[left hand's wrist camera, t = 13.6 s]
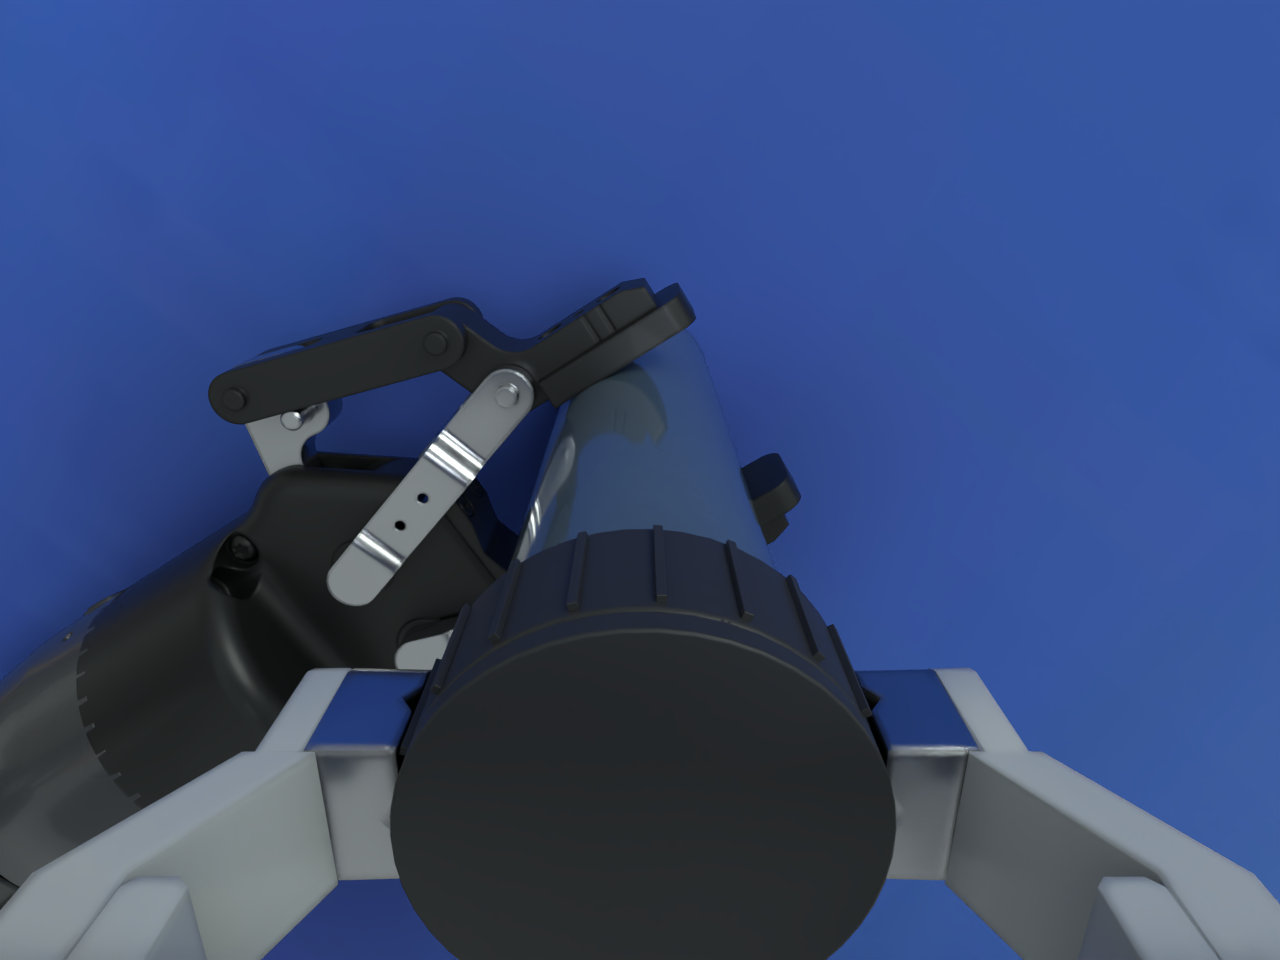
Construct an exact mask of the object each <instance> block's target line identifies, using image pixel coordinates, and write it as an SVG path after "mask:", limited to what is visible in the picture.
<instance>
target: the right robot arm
mask: <svg viewBox="0 0 1280 960" xmlns="http://www.w3.org/2000/svg"><path fill="white" fill-rule="evenodd" d="M695 319H696V316H695V313H694V310H693V308H692V306H691V304H690V303H689V301H688V299H687V298H686V296H685V294H684V293H683V291H682V289H681V288H680V286H679V284H678V283H674V284H672V285H670V286H668V287H666V288H664V289H662V290H661V291H659V292H657V293H656V294H654V293H653V291H652V289H651V288H650V286H649V284H648V283H647V281H646V279H645V278H641V279H636V280H630V281H625V282H621V283H620V284H618V285H616V286H615V287H613V288H612V289H610V290H609V291H607V292H605V293H604V294H603V295H601V296H599V297H598V298H596V299H595V300H593V301H591V302H590V303H588V304H587V305H585V306H584V307H582V308H580V309H579V310H577V311H576V312H574V313H573V314H571V315H569V316H568V317H566V318H565V319H563V320H562V321H560V322H559V323H557V324H555V325H554V326H552V327H551V328H549V329H548V330H546V331H544V332H543V333H541V334H540V335H538V336H536V337H533V338H530V339H515V338H512V337H509V336H507V335H505V334H504V333H502V332H501V331H499V330H498V329H497V328H495V327H494V326H493V325H491V324H490V323H489V322H487V321H486V320H485V319H483V316H482V313H481V311H480V310H479V308H478V307H477V306H476V305H475V304H474V303H473V302H471V301H469V300H467V299H464V298H460V297H455V298H450V299H446V300H443V301H439V302H436V303H432V304H429V305H425V306H422V307H418V308H415V309H411V310H407V311H404V312H400V313H397V314H393V315H390V316H386V317H383V318H379V319H376V320H372V321H369V322H365V323H362V324H358V325H354V326H351V327H347V328H344V329H340V330H337V331H333V332H330V333H326V334H323V335H319V336H316V337H312V338H308V339H305V340H301V341H298V342H294V343H291V344H287V345H284V346H280V347H277V348H273V349H270V350H267V351H265V352H263V353H261V354H259V355H257V356H255V357H253V358H251V359H249V360H247V361H245V362H243V363H241V364H239V365H237V366H235V367H233V368H232V369H230V370H228V371H226V372H224V373H222V374H220V375H219V376H217V377H216V378H215V379H213V381H212V382H211V384H210V386H209V390H208V397H209V401H210V404H211V406H212V408H213V410H214V411H215V412H216V413H217V414H218V415H219V416H220V417H221V418H222V419H224V420H226V421H228V422H230V423H233V424H245V425H246V427H247V429H248V431H249V434H250V436H251V438H252V440H253V442H254V444H255V446H256V448H257V451H258V453H259V455H260V457H261V459H262V461H263V463H264V465H265V468H266V470H267V472H268V474H269V477H268V478H267V479H266V480H265V481H264V482H263V483H262V485H261V486H260V488H259V490H258V492H257V495H256V497H255V500H254V502H253V505H252V506H251V508H250V509H249V511H247V512H246V513H244V514H243V515H241V516H240V517H238V518H237V519H235V520H233V521H232V522H230V523H229V524H227V525H226V526H224V527H222V528H221V529H219V530H218V531H216V532H215V533H213V534H212V535H210V536H208V537H207V538H205V539H204V540H202V541H201V542H199V543H197V544H196V545H194V546H193V547H191V548H190V549H188V550H187V551H185V552H183V553H182V554H180V555H179V556H177V557H176V558H174V559H172V560H171V561H169V562H168V563H166V564H165V565H163V566H162V567H160V568H158V569H157V570H155V571H154V572H152V573H151V574H149V575H147V576H146V577H144V578H143V579H141V580H140V581H138V582H136V583H135V584H133V585H132V586H130V587H129V588H127V589H126V590H123V591H120V592H118V593H115V594H113V595H111V596H109V597H107V598H105V599H103V600H101V601H99V602H98V603H96V604H94V605H93V606H91V607H90V608H89V609H88V611H87V612H86V613H85V614H84V615H83V617H82V618H80V619H79V620H77V621H76V622H74V623H73V624H71V625H70V626H68V627H66V628H65V629H63V630H62V631H60V632H59V633H57V634H56V635H54V636H53V637H51V638H50V639H49V640H47V641H46V642H44V643H43V644H42V645H41V646H39V647H38V648H37V649H36V650H35V651H34V652H32V653H31V654H30V655H29V656H28V657H27V658H26V659H24V660H23V661H22V662H21V663H20V664H19V665H18V666H17V667H16V668H14V669H13V670H12V671H11V672H10V673H9V674H8V675H7V676H6V677H4V678H3V679H2V680H0V910H1V909H2V908H3V907H4V905H5V904H6V903H7V902H8V901H9V900H10V898H11V897H12V896H13V895H14V894H15V892H16V891H17V890H18V889H19V888H20V887H21V885H22V884H23V883H24V882H25V881H26V880H27V878H28V877H29V876H30V875H31V874H32V873H33V872H35V871H36V870H38V869H40V868H42V867H43V866H45V865H47V864H48V863H50V862H52V861H54V860H55V859H57V858H59V857H61V856H62V855H64V854H66V853H67V852H69V851H71V850H73V849H74V848H76V847H78V846H80V845H81V844H83V843H85V842H87V841H88V840H90V839H92V838H93V837H95V836H97V835H99V834H100V833H102V832H104V831H106V830H107V829H109V828H111V827H113V826H114V825H116V824H118V823H119V822H121V821H123V820H125V819H126V818H128V817H130V816H132V815H133V814H135V813H137V812H139V811H140V810H142V809H144V808H145V807H147V806H149V805H151V804H152V803H154V802H156V801H158V800H159V799H161V798H163V797H164V796H166V795H168V794H170V793H171V792H173V791H175V790H177V789H178V788H180V787H182V786H184V785H185V784H187V783H189V782H190V781H192V780H194V779H196V778H197V777H199V776H201V775H203V774H204V773H206V772H208V771H210V770H211V769H213V768H215V767H216V766H218V765H220V764H222V763H223V762H225V761H227V760H229V759H230V758H232V757H234V756H235V755H237V754H239V753H241V752H255V750H256V749H257V747H258V746H259V744H260V742H261V741H262V739H263V738H264V736H265V735H266V733H267V732H268V730H269V729H270V727H271V726H272V724H273V723H274V721H275V720H276V718H277V716H278V715H279V713H280V712H281V710H282V709H283V707H284V706H285V704H286V703H287V701H288V700H289V698H290V697H291V695H292V694H293V692H294V690H295V689H296V687H297V686H298V684H299V683H300V681H301V680H302V678H303V677H304V675H305V674H306V673H307V672H308V671H310V670H312V669H315V668H351V669H355V668H370V669H418V670H432V668H433V665H434V663H435V660H436V658H438V659H442V657H443V654H444V652H445V649H446V647H447V644H448V642H449V639H450V637H451V634H452V631H453V629H454V626H455V624H456V621H457V619H458V616H459V614H460V611H461V609H462V607H463V606H464V605H465V603H467V604H469V605H470V606H472V605H473V603H474V602H475V601H476V600H477V598H478V597H479V596H480V595H481V594H482V593H483V592H484V591H485V590H486V589H487V588H488V587H489V586H491V585H492V584H493V583H494V582H495V581H496V580H497V579H498V578H500V577H501V576H502V575H504V574H505V573H506V572H507V570H508V567H509V564H510V561H511V558H512V555H513V552H514V548H515V545H516V542H517V539H518V536H517V535H516V534H515V533H514V532H513V531H511V530H510V529H509V528H508V527H506V526H505V525H504V524H503V523H501V522H500V521H499V520H498V519H497V517H496V514H495V512H494V509H493V507H492V504H491V502H490V499H489V497H488V494H487V492H486V491H485V489H484V488H483V487H482V485H481V484H480V483H479V481H478V480H477V479H476V475H477V474H478V473H479V471H480V470H481V468H482V467H483V466H484V464H485V463H486V462H487V461H488V459H489V458H490V457H491V456H492V455H493V454H494V452H495V451H496V450H497V449H498V448H499V447H500V445H501V444H502V443H503V442H504V441H505V439H506V438H507V437H508V436H509V435H510V434H511V432H512V431H513V430H514V429H515V428H516V427H517V425H518V424H519V423H520V422H521V421H522V419H523V418H524V417H525V416H526V415H527V414H528V412H530V411H531V410H533V409H535V408H536V407H538V406H539V405H541V404H543V403H544V402H546V401H548V400H550V402H551V403H552V405H553V406H554V408H555V409H556V408H557V407H559V406H561V405H562V404H564V403H566V402H567V401H569V400H570V399H572V398H574V397H575V396H577V395H579V394H580V393H581V392H583V391H584V390H586V389H587V388H589V387H590V386H592V385H594V384H596V383H598V382H600V381H601V380H603V379H605V378H606V377H608V376H610V375H611V374H613V373H614V372H616V371H618V370H619V369H621V368H623V367H624V366H626V365H627V364H629V363H631V362H632V361H634V360H636V359H637V358H639V357H641V356H642V355H644V354H645V353H647V352H649V351H650V350H652V349H654V348H655V347H657V346H658V345H660V344H662V343H663V342H665V341H667V340H668V339H670V338H671V337H673V336H675V335H676V334H678V333H680V332H681V331H683V330H684V329H685V328H687V327H688V326H689V325H690V324H692V323H693V322H694V320H695ZM437 371H442V372H443V373H445V374H446V375H447V376H449V377H450V378H452V379H453V380H454V381H456V382H457V383H459V384H460V385H461V386H463V387H464V388H466V389H467V390H468V391H470V392H471V393H470V395H469V396H468V397H467V398H466V400H465V401H464V402H463V403H462V404H461V405H460V406H459V408H458V409H457V410H456V411H455V412H454V414H453V415H452V416H451V417H450V419H449V420H448V421H447V422H446V424H445V425H444V426H443V427H442V428H441V430H440V431H439V432H438V433H437V435H436V436H435V437H434V438H433V439H432V441H431V442H430V443H429V444H428V446H427V447H426V448H425V449H424V450H423V452H422V453H421V454H420V455H419V457H418V458H407V457H393V456H378V455H363V454H348V453H333V452H317V451H316V447H315V438H316V435H317V433H319V432H321V431H322V430H323V429H325V428H326V427H327V426H328V425H329V424H330V423H332V422H333V421H334V420H335V419H336V418H337V417H338V416H339V414H340V412H341V410H342V397H346V396H350V395H353V394H357V393H361V392H364V391H368V390H371V389H375V388H379V387H382V386H386V385H390V384H393V383H397V382H401V381H404V380H408V379H412V378H415V377H419V376H423V375H426V374H430V373H434V372H437ZM741 469H742V472H743V475H744V478H745V481H746V484H747V487H748V490H749V493H750V496H751V499H752V502H753V505H754V508H755V511H756V514H757V517H758V520H759V523H760V526H761V529H762V532H763V535H764V538H765V541H766V544H767V545H768V544H769V543H771V542H773V541H775V540H776V539H777V537H778V536H779V535H780V534H781V533H782V532H783V531H784V530H785V528H786V527H787V526H788V525H789V523H788V521H787V518H786V516H785V513H787V512H788V511H790V510H791V509H792V508H794V507H795V506H796V505H797V504H798V502H799V501H800V499H801V495H800V493H799V490H798V488H797V486H796V484H795V482H794V480H793V478H792V476H791V474H790V472H789V471H788V469H787V467H786V466H785V464H784V462H783V461H782V459H781V457H780V455H779V454H777V453H771V454H768V455H765V456H763V457H761V458H759V459H757V460H755V461H753V462H752V463H750V464H748V465H746V466H745V467H743V468H741Z"/></svg>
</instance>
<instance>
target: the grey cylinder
mask: <svg viewBox="0 0 1280 960" xmlns="http://www.w3.org/2000/svg"><path fill="white" fill-rule="evenodd" d="M653 525H662V526H663V530H669V531H678V532H685V533H689V534H694V535H698V536H702V537H707V538H711V539H714V540H716V541H719V542H722V543H724V544H726V542H727V540H731V541H733V542H736V545H737V548H738V549H740V550H742V551H744V552H746V553H748V554H750V555H752V556H754V557H755V558H757V559H759V560H761V561H763V562H765V563H766V564H767V565H769V566H770V567H772V568H773V569H775V567H774V564H773V561H772V558H771V555H770V553H769V550H768V547H767V544H766V541H765V538H764V535H763V532H762V529H761V526H760V523H759V520H758V517H757V514H756V511H755V508H754V505H753V502H752V499H751V496H750V493H749V490H748V487H747V484H746V481H745V478H744V475H743V472H742V469H741V466H740V463H739V460H738V457H737V454H736V451H735V448H734V445H733V442H732V439H731V436H730V433H729V430H728V427H727V424H726V421H725V418H724V415H723V412H722V409H721V406H720V403H719V400H718V397H717V394H716V391H715V388H714V385H713V382H712V379H711V376H710V373H709V370H708V367H707V364H706V361H705V359H704V356H703V353H702V351H701V349H700V347H699V345H698V344H697V342H696V341H695V339H694V338H693V337H692V336H691V335H690V334H689V332H687V331H686V330H685V329H684V330H683V331H681V332H680V333H678V334H676V335H675V336H673V337H671V338H670V339H668V340H667V341H665V342H663V343H662V344H660V345H658V346H657V347H655V348H654V349H652V350H650V351H649V352H647V353H645V354H644V355H642V356H641V357H639V358H637V359H636V360H634V361H632V362H631V363H629V364H627V365H626V366H624V367H623V368H621V369H619V370H618V371H616V372H614V373H613V374H611V375H610V376H608V377H606V378H605V379H603V380H601V381H600V382H598V383H596V384H594V385H592V386H590V387H589V388H587V389H586V390H584V391H583V392H581V393H580V394H579V395H577V396H575V397H574V398H572V399H570V400H569V401H567V402H566V403H564V404H562V405H561V406H560V407H559V410H558V413H557V416H556V420H555V423H554V426H553V429H552V432H551V435H550V438H549V442H548V445H547V448H546V451H545V454H544V457H543V460H542V464H541V467H540V470H539V473H538V476H537V479H536V482H535V486H534V489H533V492H532V495H531V498H530V501H529V504H528V508H527V511H526V514H525V517H524V520H523V523H522V526H521V530H520V533H519V536H518V539H517V542H516V545H515V548H514V552H513V555H512V558H511V561H510V564H511V562H513V561H514V560H516V559H519V560H520V562H523V561H524V560H526V559H528V558H530V557H532V556H533V555H535V554H537V553H539V552H541V551H543V550H545V549H548V548H550V547H553V546H556V545H558V544H561V543H563V542H566V541H568V540H571V539H575V538H577V534H578V533H580V532H584V531H586V532H587V534H588V535H591V534H595V533H601V532H608V531H616V530H623V529H653ZM510 564H509V567H510ZM509 567H508V570H509ZM508 570H507V572H508Z"/></svg>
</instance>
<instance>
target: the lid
mask: <svg viewBox="0 0 1280 960" xmlns="http://www.w3.org/2000/svg"><path fill="white" fill-rule="evenodd" d="M870 716H872V712H871V710H870V708H869V705H868V703H867V700H866V698H865V696H864V693H863V691H862V689H861V686H860V684H859V681H858V679H857V677H856V674H855V672H854V670H853V667H852V665H851V663H850V660H849V658H848V655H847V653H846V651H845V648H844V646H843V644H842V641H841V639H840V636H839V634H838V632H837V630H836V628H835V626H834V624H832V625H830V626H828V627H827V625H826V624H825V622H824V620H823V619H822V617H821V615H820V614H819V612H818V611H817V610H816V609H815V607H814V606H813V605H812V604H811V603H810V601H809V600H808V599H807V598H806V596H805V595H804V594H803V593H802V592H801V591H800V588H799V585H798V583H797V580H796V579H795V578H794V577H793V576H792V575H789V576H788V577H787V578H786V577H785V576H783V575H782V574H780V573H779V572H777V571H776V570H775V569H773V568H772V567H770V566H769V565H767V564H766V563H765V562H763V561H761V560H759V559H757V558H755V557H754V556H752V555H750V554H748V553H746V552H744V551H742V550H740V549H738V548H737V545H736V542H733V541H731V540H727V542H726V544H724V543H722V542H719V541H716V540H714V539H711V538H707V537H702V536H698V535H694V534H689V533H685V532H678V531H669V530H663V526H662V525H653V529H623V530H616V531H608V532H601V533H595V534H591V535H588V534H587V532H586V531H584V532H580V533H578V534H577V538H575V539H571V540H568V541H566V542H563V543H561V544H558V545H556V546H553V547H550V548H548V549H545V550H543V551H541V552H539V553H537V554H535V555H533V556H532V557H530V558H528V559H526V560H524V561H523V562H520V560H519V559H516V560H514V561H513V562H511V564H510V567H509V570H508V572H506V573H505V574H504V575H502V576H501V577H500V578H498V579H497V580H496V581H495V582H494V583H493V584H492V585H491V586H489V587H488V588H487V589H486V590H485V591H484V592H483V593H482V594H481V595H480V596H479V597H478V598H477V600H476V601H475V602H474V603H473V605H472V606H470V605H469V604H467V603H465V605H464V606H463V607H462V609H461V611H460V614H459V616H458V619H457V621H456V624H455V626H454V629H453V631H452V634H451V637H450V639H449V642H448V644H447V647H446V649H445V652H444V654H443V657H442V659H438V658H436V660H435V663H434V665H433V668H432V670H431V673H430V675H429V678H428V680H427V683H426V685H425V688H424V690H423V692H422V695H421V697H420V700H419V702H418V705H417V707H416V710H415V712H414V715H413V717H412V720H411V722H410V725H409V727H408V730H407V732H406V735H405V737H404V739H403V742H402V744H401V747H400V751H399V754H400V755H404V756H405V757H404V760H403V763H402V766H401V768H400V771H399V774H398V776H397V779H396V782H395V786H394V792H393V797H392V803H391V808H390V838H391V844H392V851H393V857H394V863H395V866H396V869H397V872H398V875H399V878H400V881H401V884H402V887H403V889H404V891H405V893H406V895H407V897H408V899H409V900H410V902H411V904H412V906H413V908H414V910H415V911H416V913H417V914H418V916H419V917H420V918H421V920H422V921H423V923H424V924H425V925H426V927H427V928H428V930H429V931H430V932H431V933H432V934H433V935H434V936H435V937H436V939H437V940H438V941H439V942H440V943H441V944H442V945H443V946H444V947H445V948H446V949H447V950H448V951H449V952H450V953H451V954H453V955H454V956H455V957H456V958H457V959H459V960H826V959H828V958H829V957H830V956H831V955H832V954H833V953H834V952H836V951H837V950H838V949H839V948H840V947H841V946H842V945H843V944H844V943H845V942H846V941H847V940H848V939H849V938H850V936H851V935H852V934H853V933H854V932H855V931H856V930H857V929H858V927H859V926H860V925H861V923H862V922H863V920H864V919H865V917H866V916H867V915H868V913H869V912H870V910H871V909H872V907H873V906H874V904H875V902H876V900H877V898H878V896H879V894H880V892H881V889H882V887H883V885H884V883H885V881H886V878H887V874H888V871H889V868H890V864H891V861H892V858H893V852H894V844H895V836H896V806H895V799H894V795H893V790H892V785H891V780H890V777H889V774H888V772H887V769H886V766H885V764H884V761H883V759H882V756H881V754H880V751H879V749H878V747H877V744H876V742H875V739H874V737H873V734H872V732H871V729H870V722H869V719H868V717H870Z"/></svg>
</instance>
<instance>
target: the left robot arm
mask: <svg viewBox="0 0 1280 960" xmlns="http://www.w3.org/2000/svg"><path fill="white" fill-rule="evenodd" d="M854 672H855V674H856V677H857V679H858V681H859V684H860V686H861V689H862V691H863V693H864V696H865V698H866V700H867V703H868V705H869V708H870V710H871V712H872V716H870V717H868V719H869V722H870V729H871V732H872V734H873V737H874V739H875V742H876V744H877V747H878V749H879V751H880V754H881V756H882V759H883V761H884V764H885V766H886V769H887V772H888V774H889V777H890V780H891V785H892V790H893V795H894V799H895V806H896V836H895V844H894V852H893V858H892V861H891V864H890V868H889V871H888V874H887V878H886V879H918V880H946V881H945V884H946V885H947V886H948V887H949V888H950V889H951V890H952V891H953V892H954V893H955V894H956V895H957V896H958V897H959V898H960V899H961V900H962V901H963V902H964V903H965V904H966V905H967V906H968V907H969V908H971V909H972V910H973V911H974V912H975V913H976V914H977V915H978V916H979V917H980V918H981V919H982V920H983V921H984V922H985V923H986V924H987V925H988V926H989V927H990V928H991V929H992V930H993V931H994V932H995V933H996V934H997V935H998V936H999V937H1000V938H1001V939H1002V940H1003V941H1004V942H1006V943H1007V944H1008V945H1009V946H1010V947H1011V948H1012V949H1013V950H1014V951H1015V952H1016V953H1017V954H1018V955H1019V956H1020V957H1021V958H1022V959H1023V960H1280V904H1279V903H1278V902H1277V901H1276V899H1275V898H1274V897H1273V896H1272V895H1271V893H1270V892H1269V891H1268V890H1267V889H1266V888H1265V886H1264V885H1263V884H1262V883H1261V882H1260V881H1259V879H1258V878H1257V877H1256V876H1255V875H1254V874H1253V873H1251V872H1249V871H1248V870H1246V869H1244V868H1242V867H1241V866H1239V865H1237V864H1235V863H1234V862H1232V861H1230V860H1229V859H1227V858H1225V857H1223V856H1222V855H1220V854H1218V853H1216V852H1215V851H1213V850H1211V849H1209V848H1208V847H1206V846H1204V845H1203V844H1201V843H1199V842H1197V841H1196V840H1194V839H1192V838H1190V837H1189V836H1187V835H1185V834H1183V833H1182V832H1180V831H1178V830H1177V829H1175V828H1173V827H1171V826H1170V825H1168V824H1166V823H1164V822H1163V821H1161V820H1159V819H1157V818H1156V817H1154V816H1152V815H1151V814H1149V813H1147V812H1145V811H1144V810H1142V809H1140V808H1138V807H1137V806H1135V805H1133V804H1131V803H1130V802H1128V801H1126V800H1125V799H1123V798H1121V797H1119V796H1118V795H1116V794H1114V793H1112V792H1111V791H1109V790H1107V789H1105V788H1104V787H1102V786H1100V785H1099V784H1097V783H1095V782H1093V781H1092V780H1090V779H1088V778H1086V777H1085V776H1083V775H1081V774H1079V773H1078V772H1076V771H1074V770H1073V769H1071V768H1069V767H1067V766H1066V765H1064V764H1062V763H1060V762H1059V761H1057V760H1055V759H1053V758H1052V757H1050V756H1048V755H1047V754H1045V753H1043V752H1029V751H1028V749H1027V748H1026V746H1025V745H1024V743H1023V742H1022V740H1021V739H1020V737H1019V736H1018V734H1017V733H1016V731H1015V730H1014V728H1013V727H1012V725H1011V724H1010V722H1009V721H1008V719H1007V718H1006V716H1005V715H1004V713H1003V712H1002V710H1001V709H1000V707H999V706H998V704H997V703H996V701H995V700H994V698H993V697H992V695H991V694H990V692H989V691H988V689H987V688H986V686H985V685H984V683H983V682H982V680H981V679H980V677H979V676H978V674H977V673H976V671H974V670H972V669H970V668H969V667H968V668H938V669H929V670H873V671H854ZM430 673H431V670H418V669H370V668H355V669H351V668H315V669H312V670H310V671H308V672H307V673H306V674H305V675H304V677H303V678H302V680H301V681H300V683H299V684H298V686H297V687H296V689H295V690H294V692H293V694H292V695H291V697H290V698H289V700H288V701H287V703H286V704H285V706H284V707H283V709H282V710H281V712H280V713H279V715H278V716H277V718H276V720H275V721H274V723H273V724H272V726H271V727H270V729H269V730H268V732H267V733H266V735H265V736H264V738H263V739H262V741H261V742H260V744H259V746H258V747H257V749H256V750H255V752H241V753H239V754H237V755H235V756H234V757H232V758H230V759H229V760H227V761H225V762H223V763H222V764H220V765H218V766H216V767H215V768H213V769H211V770H210V771H208V772H206V773H204V774H203V775H201V776H199V777H197V778H196V779H194V780H192V781H190V782H189V783H187V784H185V785H184V786H182V787H180V788H178V789H177V790H175V791H173V792H171V793H170V794H168V795H166V796H164V797H163V798H161V799H159V800H158V801H156V802H154V803H152V804H151V805H149V806H147V807H145V808H144V809H142V810H140V811H139V812H137V813H135V814H133V815H132V816H130V817H128V818H126V819H125V820H123V821H121V822H119V823H118V824H116V825H114V826H113V827H111V828H109V829H107V830H106V831H104V832H102V833H100V834H99V835H97V836H95V837H93V838H92V839H90V840H88V841H87V842H85V843H83V844H81V845H80V846H78V847H76V848H74V849H73V850H71V851H69V852H67V853H66V854H64V855H62V856H61V857H59V858H57V859H55V860H54V861H52V862H50V863H48V864H47V865H45V866H43V867H42V868H40V869H38V870H36V871H35V872H33V873H32V874H31V875H30V876H29V877H28V878H27V880H26V881H25V882H24V883H23V884H22V885H21V887H20V888H19V889H18V890H17V891H16V892H15V894H14V895H13V896H12V897H11V898H10V900H9V901H8V902H7V903H6V904H5V905H4V907H3V908H2V909H1V910H0V960H261V959H262V958H263V957H264V956H265V955H266V954H267V953H268V952H269V951H270V950H271V949H272V948H273V947H274V946H275V945H276V944H278V943H279V942H280V941H281V940H282V939H283V938H284V937H285V936H286V935H287V934H288V933H289V932H290V931H291V930H292V929H293V928H294V927H295V926H296V925H297V924H298V923H299V922H300V921H301V920H302V919H303V918H304V917H305V916H306V915H307V914H308V913H309V912H310V911H311V910H312V909H313V908H315V907H316V906H317V905H318V904H319V903H320V902H321V901H322V900H323V899H324V898H325V897H326V896H327V895H328V894H329V893H330V892H331V891H332V890H333V889H334V888H335V887H336V886H337V885H338V880H364V879H398V878H399V875H398V872H397V869H396V866H395V863H394V857H393V851H392V844H391V838H390V808H391V803H392V797H393V792H394V786H395V782H396V779H397V776H398V774H399V771H400V768H401V766H402V763H403V760H404V757H405V756H404V755H400V754H399V751H400V747H401V744H402V742H403V739H404V737H405V735H406V732H407V730H408V727H409V725H410V722H411V720H412V717H413V715H414V712H415V710H416V707H417V705H418V702H419V700H420V697H421V695H422V692H423V690H424V688H425V685H426V683H427V680H428V678H429V675H430Z"/></svg>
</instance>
